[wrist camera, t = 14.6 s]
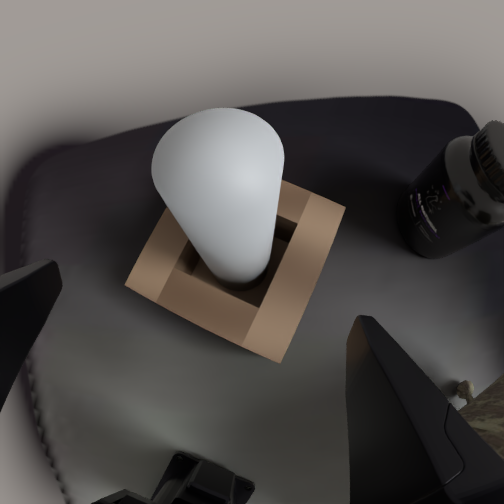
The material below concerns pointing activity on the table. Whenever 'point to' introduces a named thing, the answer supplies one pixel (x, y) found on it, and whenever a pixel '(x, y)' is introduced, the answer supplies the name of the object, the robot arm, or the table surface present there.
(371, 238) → the table surface
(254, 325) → the socket block
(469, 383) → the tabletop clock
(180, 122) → the peg
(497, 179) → the supplement bottle
